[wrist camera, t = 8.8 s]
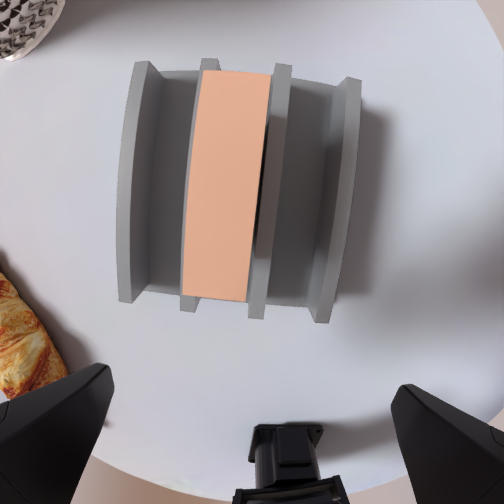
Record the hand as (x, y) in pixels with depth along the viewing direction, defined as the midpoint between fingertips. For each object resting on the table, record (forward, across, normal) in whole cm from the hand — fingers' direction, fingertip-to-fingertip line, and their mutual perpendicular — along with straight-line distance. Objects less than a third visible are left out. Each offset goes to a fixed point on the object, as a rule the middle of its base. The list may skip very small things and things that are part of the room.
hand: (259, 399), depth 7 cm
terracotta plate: (+10, +2, -6) cm, 12 cm away
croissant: (+12, +21, +9) cm, 26 cm away
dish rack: (+11, +2, -6) cm, 13 cm away
